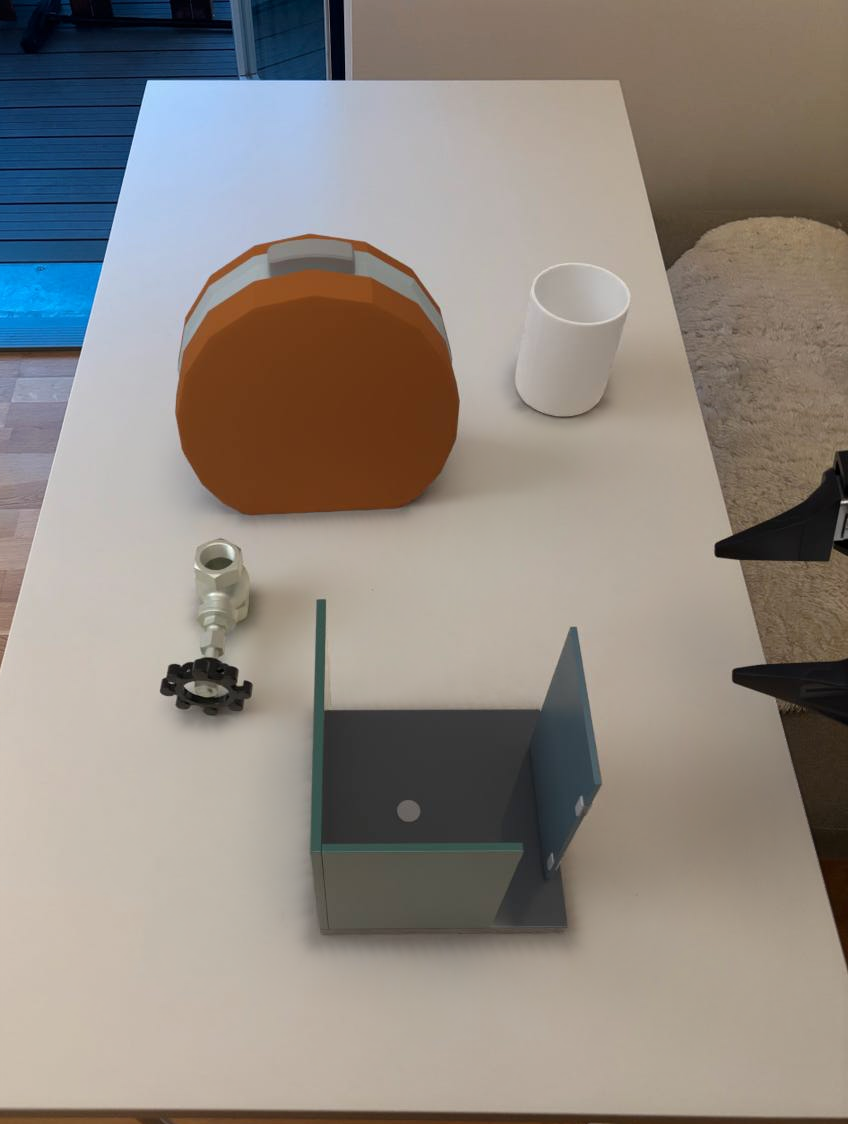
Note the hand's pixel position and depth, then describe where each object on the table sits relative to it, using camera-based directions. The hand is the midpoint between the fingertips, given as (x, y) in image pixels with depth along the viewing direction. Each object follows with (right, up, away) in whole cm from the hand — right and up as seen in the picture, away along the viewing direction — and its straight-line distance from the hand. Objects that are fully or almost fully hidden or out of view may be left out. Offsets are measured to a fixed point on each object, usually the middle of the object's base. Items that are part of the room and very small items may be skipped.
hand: (722, 610), depth 55 cm
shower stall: (-16, -14, +9) cm, 24 cm away
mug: (-3, +24, +34) cm, 42 cm away
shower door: (-9, -13, +8) cm, 18 cm away
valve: (-33, -3, +17) cm, 37 cm away
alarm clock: (-25, +13, +27) cm, 40 cm away
